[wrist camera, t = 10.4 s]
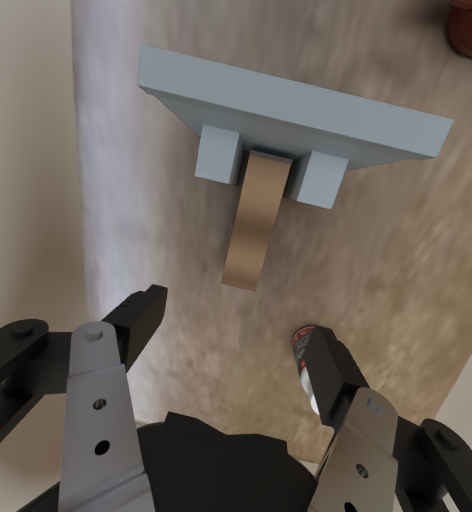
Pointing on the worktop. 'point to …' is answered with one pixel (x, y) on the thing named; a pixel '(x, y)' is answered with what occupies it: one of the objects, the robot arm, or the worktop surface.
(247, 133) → the grey two-legged bench
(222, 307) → the worktop surface
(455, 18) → the mug
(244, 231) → the bed rail
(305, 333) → the pill bottle
